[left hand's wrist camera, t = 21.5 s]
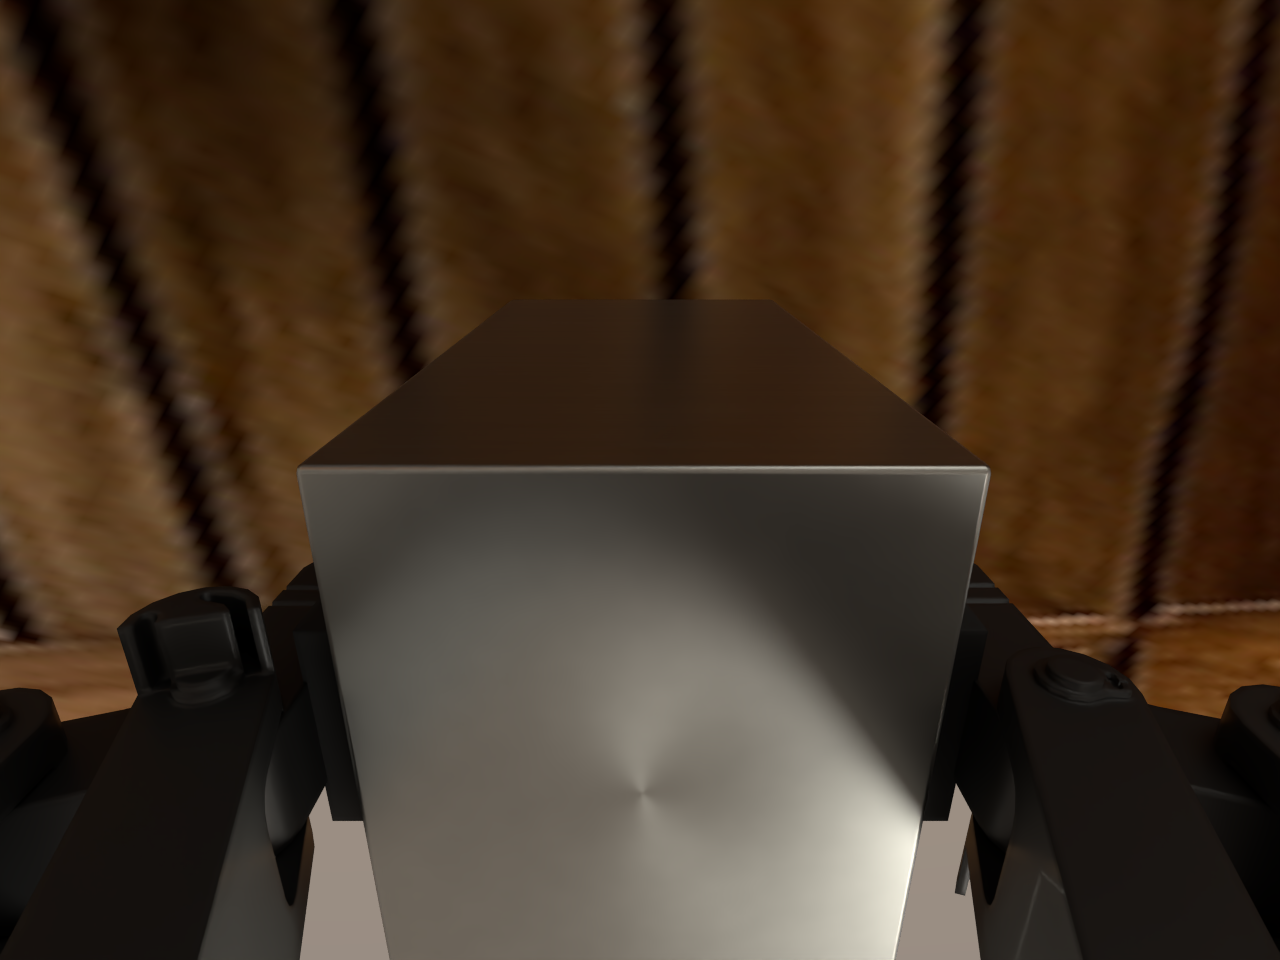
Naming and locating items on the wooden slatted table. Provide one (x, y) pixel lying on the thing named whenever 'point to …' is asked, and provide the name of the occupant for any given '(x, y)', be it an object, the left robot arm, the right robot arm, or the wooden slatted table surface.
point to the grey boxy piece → (643, 636)
